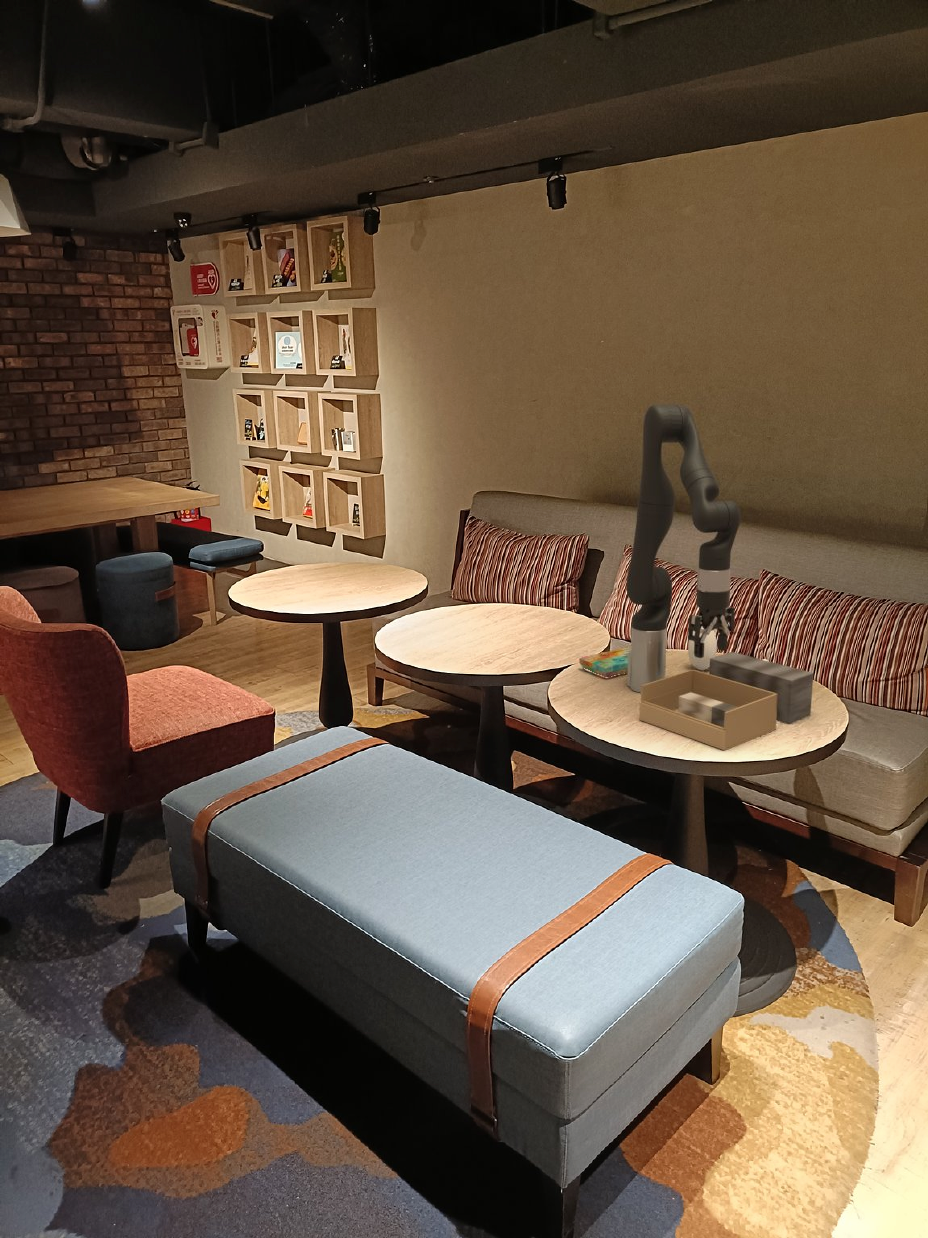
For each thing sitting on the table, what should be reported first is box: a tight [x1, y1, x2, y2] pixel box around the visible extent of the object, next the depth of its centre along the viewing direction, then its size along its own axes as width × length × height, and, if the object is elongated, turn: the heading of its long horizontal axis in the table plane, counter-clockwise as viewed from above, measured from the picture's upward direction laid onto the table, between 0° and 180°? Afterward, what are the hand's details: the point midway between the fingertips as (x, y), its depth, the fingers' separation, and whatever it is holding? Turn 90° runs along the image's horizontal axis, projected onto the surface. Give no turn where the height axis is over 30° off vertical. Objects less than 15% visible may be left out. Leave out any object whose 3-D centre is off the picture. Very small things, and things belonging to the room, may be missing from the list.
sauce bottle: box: [687, 627, 718, 671], centre depth 263 cm, size 8×8×18 cm
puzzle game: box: [578, 646, 631, 678], centre depth 267 cm, size 12×5×20 cm
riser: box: [708, 651, 814, 725], centre depth 233 cm, size 24×9×11 cm, turn 37°
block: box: [677, 692, 738, 728], centre depth 223 cm, size 14×4×6 cm, turn 37°
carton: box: [639, 669, 778, 751], centre depth 222 cm, size 25×20×9 cm
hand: (710, 653), depth 219 cm, fingers open, 8 cm apart
